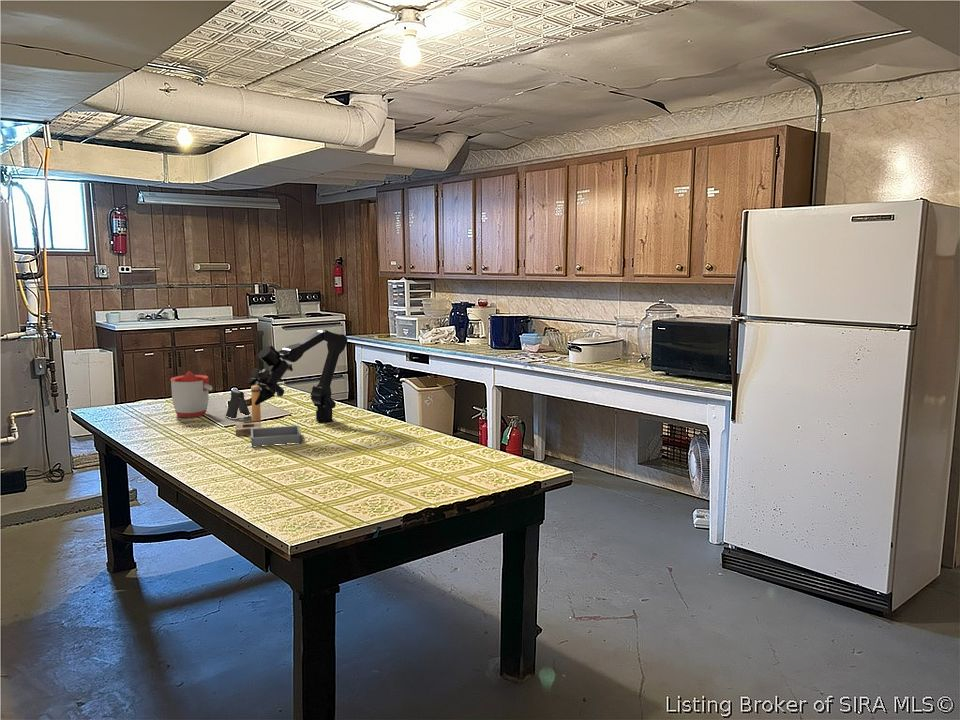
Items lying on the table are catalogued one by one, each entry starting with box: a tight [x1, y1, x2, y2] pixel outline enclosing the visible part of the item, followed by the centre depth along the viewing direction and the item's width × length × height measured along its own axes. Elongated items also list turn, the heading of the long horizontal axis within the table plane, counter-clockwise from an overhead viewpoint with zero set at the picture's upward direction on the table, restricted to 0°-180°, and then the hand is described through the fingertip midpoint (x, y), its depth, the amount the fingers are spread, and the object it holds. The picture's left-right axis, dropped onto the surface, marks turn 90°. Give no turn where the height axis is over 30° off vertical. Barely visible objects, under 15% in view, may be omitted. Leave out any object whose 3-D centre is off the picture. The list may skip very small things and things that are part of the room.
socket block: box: [235, 421, 263, 437], centre depth 284 cm, size 10×10×2 cm
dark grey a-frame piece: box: [225, 389, 251, 418], centre depth 306 cm, size 9×6×12 cm, turn 138°
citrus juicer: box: [170, 371, 213, 418], centre depth 308 cm, size 16×17×20 cm
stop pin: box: [250, 385, 262, 422], centre depth 276 cm, size 3×3×14 cm
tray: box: [250, 425, 303, 448], centre depth 272 cm, size 19×15×4 cm
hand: (253, 403), depth 275 cm, fingers closed on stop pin, 3 cm apart
